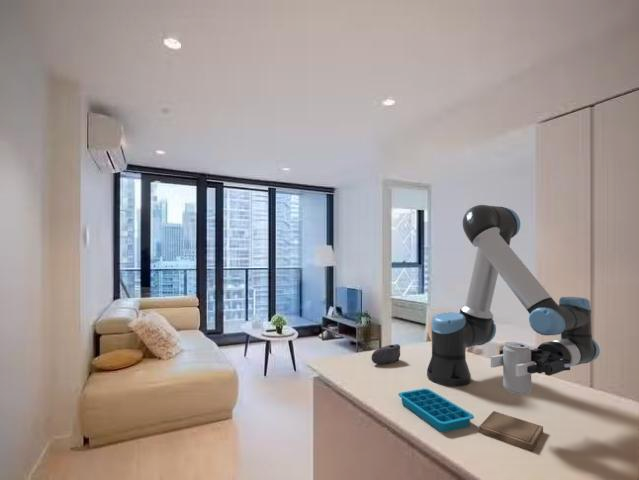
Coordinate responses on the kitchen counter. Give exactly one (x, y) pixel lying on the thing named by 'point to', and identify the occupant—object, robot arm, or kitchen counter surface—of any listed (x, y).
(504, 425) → the walnut block
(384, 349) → the perforated stone tool
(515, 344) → the beverage can
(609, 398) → the kitchen counter surface
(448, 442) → the kitchen counter surface
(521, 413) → the kitchen counter surface
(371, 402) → the kitchen counter surface
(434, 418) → the ice cube tray
